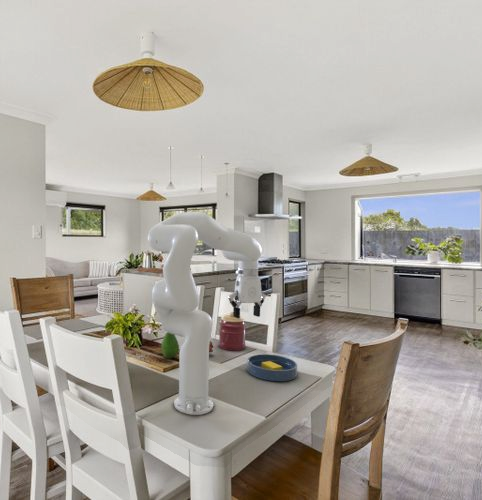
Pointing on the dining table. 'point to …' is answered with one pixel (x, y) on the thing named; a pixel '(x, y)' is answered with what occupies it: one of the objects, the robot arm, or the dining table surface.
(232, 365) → the dining table surface
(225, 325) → the kitchen canister
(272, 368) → the sponge
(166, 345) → the avocado
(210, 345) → the dragon fruit
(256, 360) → the bowl
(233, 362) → the dining table surface
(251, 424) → the dining table surface
